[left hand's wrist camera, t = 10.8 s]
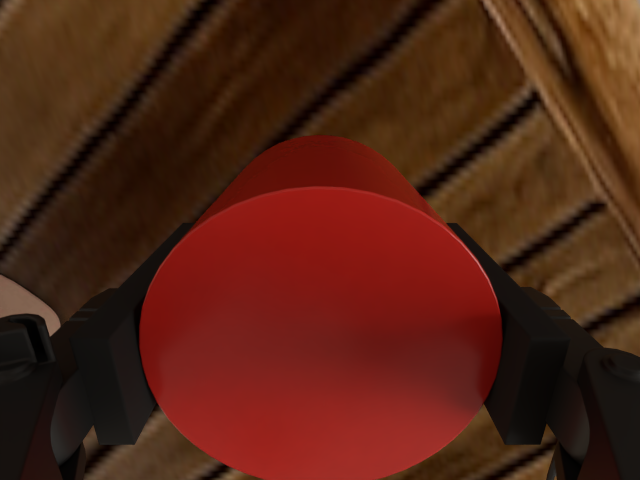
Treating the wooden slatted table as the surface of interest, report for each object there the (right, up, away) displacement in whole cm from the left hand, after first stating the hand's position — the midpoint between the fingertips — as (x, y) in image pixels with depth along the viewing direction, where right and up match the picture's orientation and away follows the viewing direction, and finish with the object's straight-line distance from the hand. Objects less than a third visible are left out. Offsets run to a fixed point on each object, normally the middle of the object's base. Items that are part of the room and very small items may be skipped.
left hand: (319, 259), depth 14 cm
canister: (0, +1, +2) cm, 2 cm away
